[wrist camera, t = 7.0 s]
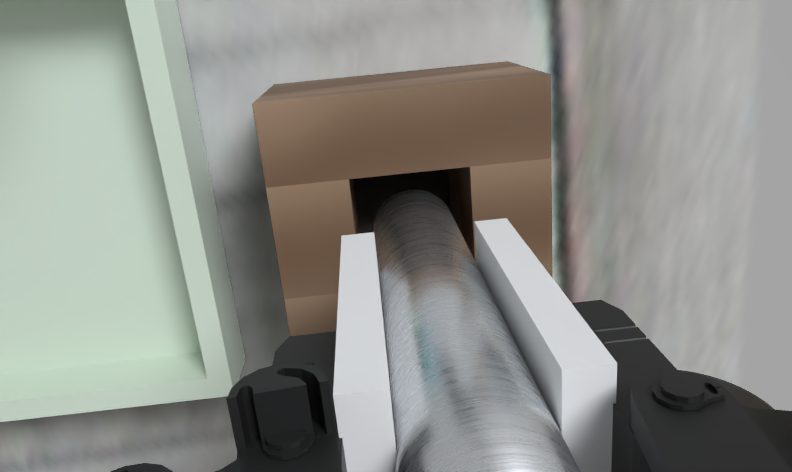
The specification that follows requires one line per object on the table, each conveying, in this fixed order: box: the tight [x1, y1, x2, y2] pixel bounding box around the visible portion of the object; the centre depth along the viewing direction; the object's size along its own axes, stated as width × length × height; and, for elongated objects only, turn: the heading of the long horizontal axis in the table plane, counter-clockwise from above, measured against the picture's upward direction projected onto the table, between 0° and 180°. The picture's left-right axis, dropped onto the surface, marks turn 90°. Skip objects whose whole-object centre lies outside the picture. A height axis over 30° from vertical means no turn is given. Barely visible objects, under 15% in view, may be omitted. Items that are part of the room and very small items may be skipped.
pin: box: [373, 190, 580, 472], centre depth 12 cm, size 2×2×14 cm
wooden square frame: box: [252, 62, 552, 336], centre depth 21 cm, size 8×8×5 cm
